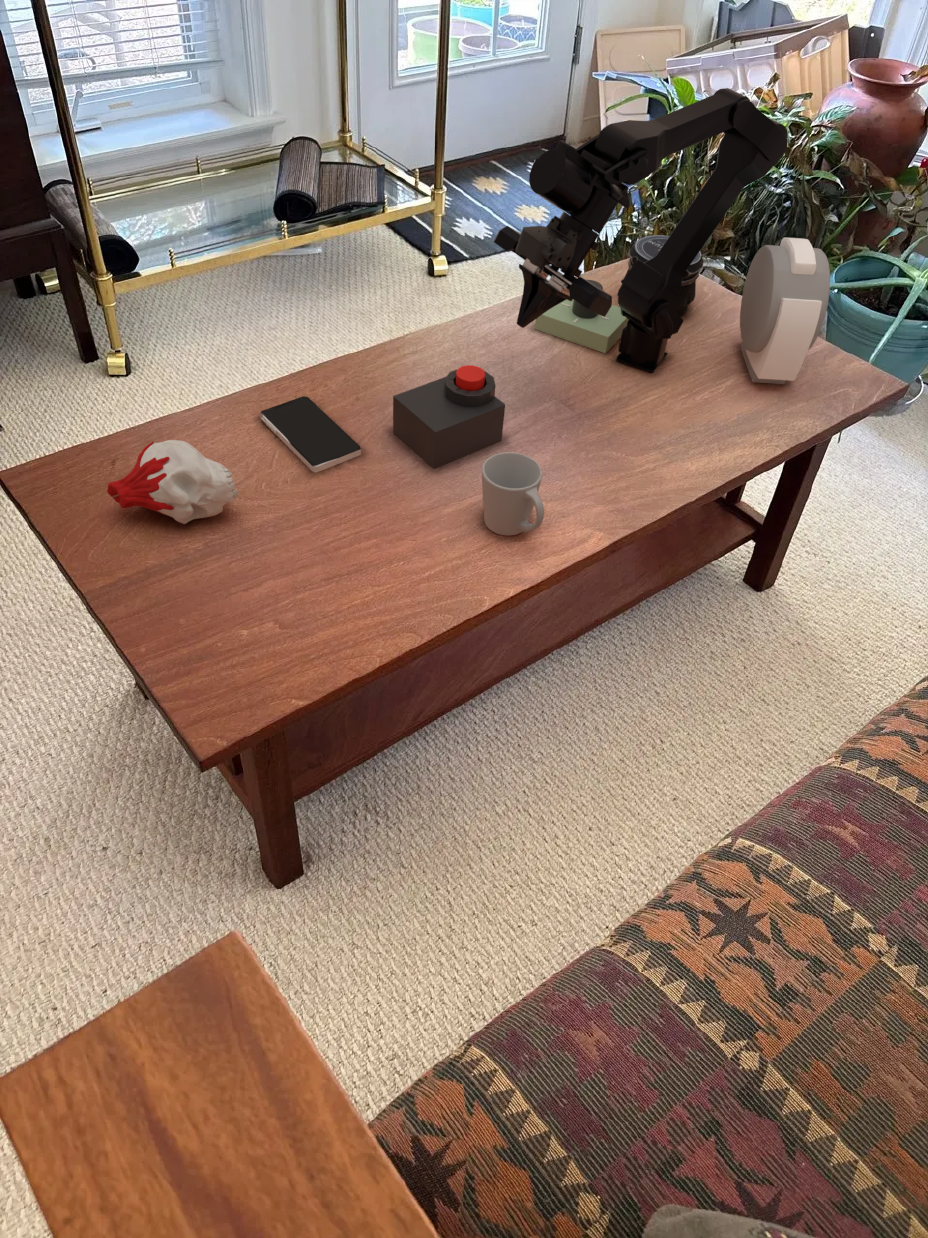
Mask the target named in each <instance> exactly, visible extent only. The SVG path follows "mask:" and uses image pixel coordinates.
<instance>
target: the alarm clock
mask: <svg viewBox="0 0 928 1238" xmlns="http://www.w3.org/2000/svg"><path fill="white" fill-rule="evenodd" d="M828 260H829V259H828V257H827V255H826V253H825V252H824V251H823V250H822V249H821V248H816V247H813V245H812V243H811V242H810V240H809V239H808V238H801V237H800V238H798V237H782V239H781V241H780V244H779V245H771V244H765V245H763V246H762V247H760V248H759V249H758V250H757V251H756V252H755V255H754V257H753V259H752V260H751V263H750V265H749V268H748V271H747V274H746V277H745V281H744V284H743V289H742V295H741V301H740V302H741V303H740V310H739V331H740V338H741V343H740V350H741V352H742V357H743V359H744V362H745V366H746V368H747V371H748V374H749V378H750V380H751V383H760V384H776V385H786V382H787V381H792V382H793V381H794V382H795V381H796V379H797V377H798V374H799V372H800V370H801V368H802V366H803V364H804V362H805V359H806V356H807V354H808V352H809V350H811V348H812V347H813V346H814V344H815V342H816V341H817V339H818V337H819V336H820V333H821V331H822V327H823V324H824V322H825V318H826V314H827V309H828V304H829V298H830V290H831V269H830V263H829V261H828Z"/></svg>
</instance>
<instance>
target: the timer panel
mask: <svg viewBox="0 0 928 1238" xmlns="http://www.w3.org/2000/svg"><path fill="white" fill-rule="evenodd" d="M573 300H574V299H573ZM573 300H572V301H569V300H565V301H563V302H561V303H560V304H558V305H556V306H554V307H553V308H551V309H549V310H548V311H546V312H545V313H544V314H542V315H541V316H539V317H538V318H537V319H535V324H534V330H536V331H539V332H542V333H545V334H548V335H551V336H553V337H557V338H559V339H562V340H565V341H568V342H571V343H574V344H576V345H579V346H583V347H586V348H588V349H591V350H594V351H597V352H599V353H603V354H607V352H608V351H610V349H611V348H612V347H613V346H614V345H615V344H616V343H617V342H618V341H620V340H621V335H622V330H623V328H624V327H625V326H626V325H627V322H628V321H629V319H628V318H626V317H625V316H622V315H621V308H620V307H619V305H618V306H617V305H615V304H612V305H611V308H610V309H609V311H608V313H607V314H606V316H605V317H603V316H601V315H599V314H598V315H597V316H596V317H594V318H581V317H578V316H576V315H575V314H574V313H573V312H572V307H573Z"/></svg>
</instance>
